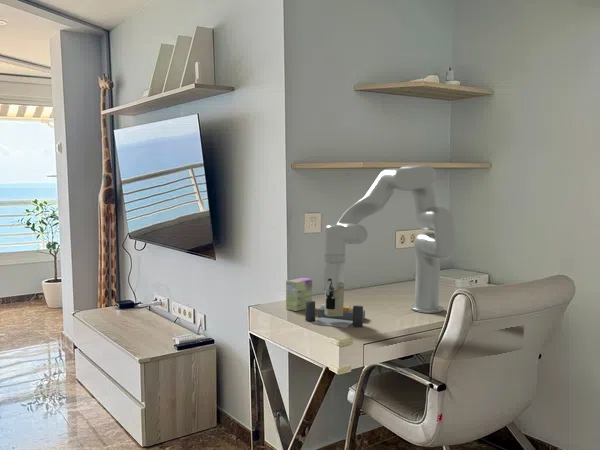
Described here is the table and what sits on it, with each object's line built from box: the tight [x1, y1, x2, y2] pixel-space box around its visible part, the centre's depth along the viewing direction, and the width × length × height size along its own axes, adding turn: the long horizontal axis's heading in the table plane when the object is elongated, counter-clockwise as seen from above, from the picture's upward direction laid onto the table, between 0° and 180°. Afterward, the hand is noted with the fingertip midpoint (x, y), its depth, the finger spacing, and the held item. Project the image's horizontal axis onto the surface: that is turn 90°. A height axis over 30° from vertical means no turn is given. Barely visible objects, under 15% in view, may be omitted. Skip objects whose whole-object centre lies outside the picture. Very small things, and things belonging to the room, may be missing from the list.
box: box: [285, 277, 313, 312], centre depth 226 cm, size 10×6×12 cm, turn 141°
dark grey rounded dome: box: [304, 300, 316, 322], centre depth 207 cm, size 4×4×7 cm
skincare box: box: [324, 282, 345, 316], centre depth 203 cm, size 6×4×12 cm
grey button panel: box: [312, 303, 366, 329], centre depth 207 cm, size 16×17×4 cm
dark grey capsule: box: [352, 305, 364, 328], centre depth 200 cm, size 4×4×7 cm
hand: (333, 306), depth 203 cm, fingers closed on skincare box, 6 cm apart
